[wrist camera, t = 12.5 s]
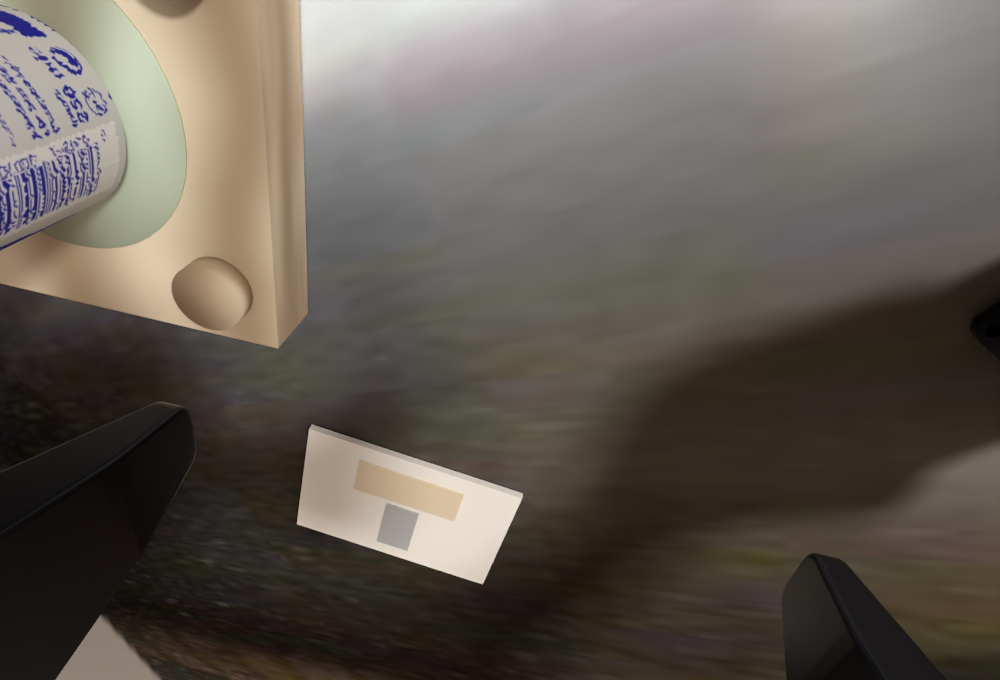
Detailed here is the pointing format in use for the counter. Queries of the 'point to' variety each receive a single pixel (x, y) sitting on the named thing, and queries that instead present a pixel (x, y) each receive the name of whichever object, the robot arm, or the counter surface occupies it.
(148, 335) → the counter surface
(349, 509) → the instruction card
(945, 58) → the counter surface
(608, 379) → the counter surface
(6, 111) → the beverage can
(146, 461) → the robot arm
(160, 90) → the base brick
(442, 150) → the counter surface
